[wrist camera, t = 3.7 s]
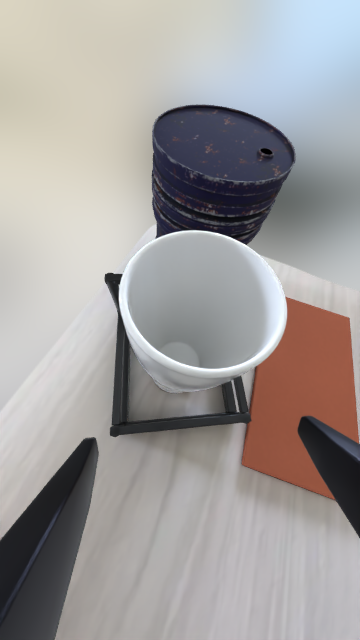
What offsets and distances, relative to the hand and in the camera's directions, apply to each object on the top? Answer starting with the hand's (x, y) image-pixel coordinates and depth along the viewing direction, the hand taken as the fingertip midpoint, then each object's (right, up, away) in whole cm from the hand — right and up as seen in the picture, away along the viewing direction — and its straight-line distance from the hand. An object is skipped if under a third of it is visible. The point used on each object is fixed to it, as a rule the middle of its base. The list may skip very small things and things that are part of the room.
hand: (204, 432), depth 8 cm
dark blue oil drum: (0, +11, +18) cm, 21 cm away
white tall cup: (-2, 0, +13) cm, 13 cm away
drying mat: (+13, -2, +14) cm, 19 cm away
